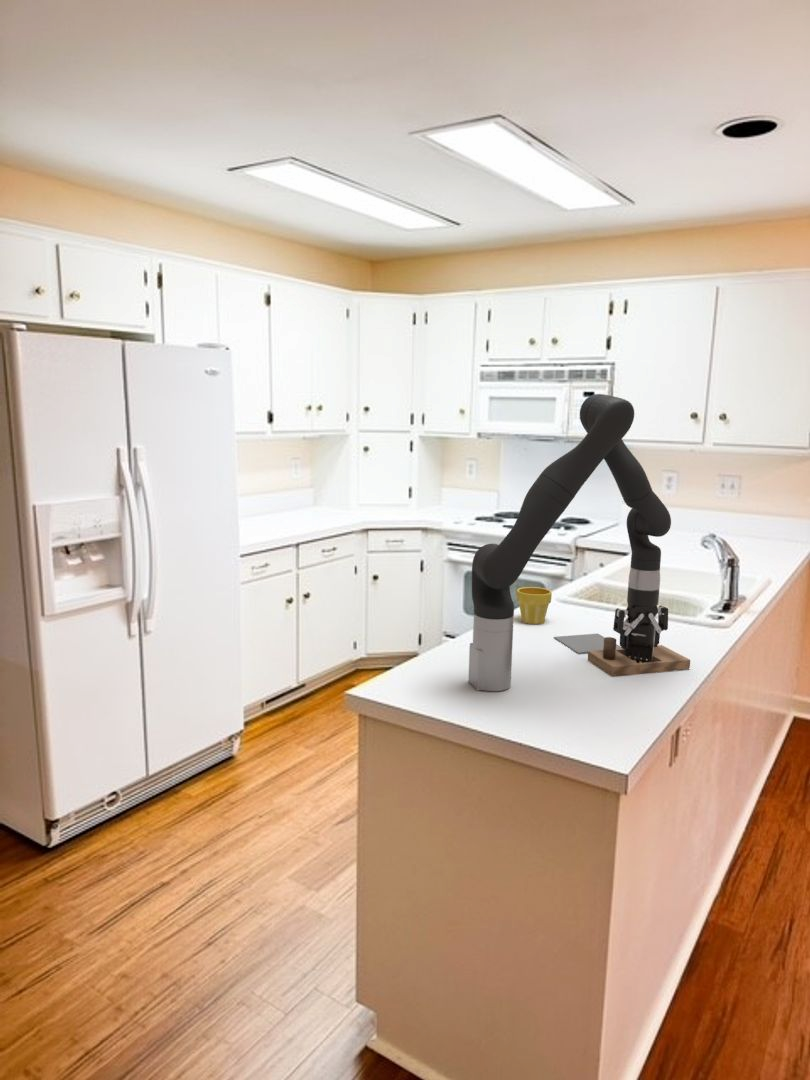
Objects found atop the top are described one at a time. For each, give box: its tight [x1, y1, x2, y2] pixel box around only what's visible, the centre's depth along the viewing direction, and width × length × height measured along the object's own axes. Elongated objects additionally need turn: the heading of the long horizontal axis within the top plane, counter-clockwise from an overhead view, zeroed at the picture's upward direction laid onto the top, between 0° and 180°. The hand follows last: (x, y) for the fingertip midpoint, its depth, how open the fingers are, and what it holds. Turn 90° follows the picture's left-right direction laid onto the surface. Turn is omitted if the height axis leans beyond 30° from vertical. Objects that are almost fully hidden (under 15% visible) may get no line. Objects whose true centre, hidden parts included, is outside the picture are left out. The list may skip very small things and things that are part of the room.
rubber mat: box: [553, 633, 621, 655], centre depth 204 cm, size 14×14×1 cm
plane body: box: [587, 636, 691, 677], centre depth 188 cm, size 22×12×8 cm, turn 106°
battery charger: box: [626, 622, 655, 663], centre depth 187 cm, size 7×4×11 cm, turn 61°
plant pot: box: [516, 586, 553, 625], centre depth 224 cm, size 10×10×10 cm
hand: (639, 647), depth 187 cm, fingers open, 8 cm apart
